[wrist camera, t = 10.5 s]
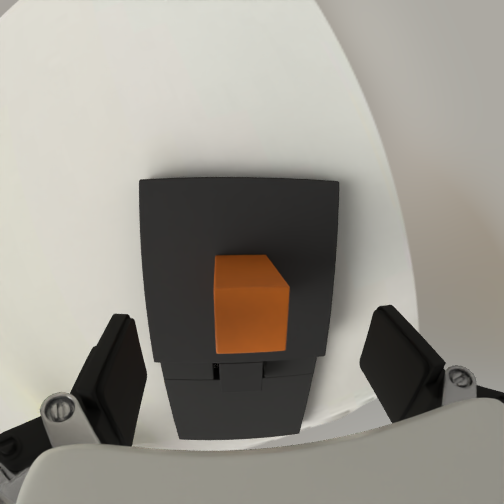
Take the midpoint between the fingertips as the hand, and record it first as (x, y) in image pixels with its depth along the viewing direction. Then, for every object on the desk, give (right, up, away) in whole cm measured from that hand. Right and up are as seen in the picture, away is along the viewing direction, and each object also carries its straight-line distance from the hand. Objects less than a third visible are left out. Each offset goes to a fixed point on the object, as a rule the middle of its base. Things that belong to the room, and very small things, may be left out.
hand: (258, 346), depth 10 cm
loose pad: (-1, +1, +9) cm, 9 cm away
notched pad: (-1, -9, +13) cm, 16 cm away
